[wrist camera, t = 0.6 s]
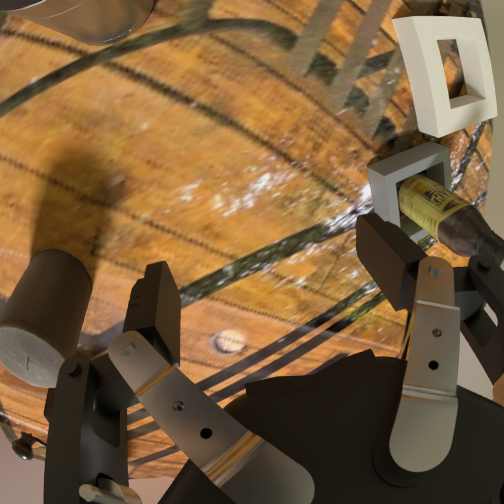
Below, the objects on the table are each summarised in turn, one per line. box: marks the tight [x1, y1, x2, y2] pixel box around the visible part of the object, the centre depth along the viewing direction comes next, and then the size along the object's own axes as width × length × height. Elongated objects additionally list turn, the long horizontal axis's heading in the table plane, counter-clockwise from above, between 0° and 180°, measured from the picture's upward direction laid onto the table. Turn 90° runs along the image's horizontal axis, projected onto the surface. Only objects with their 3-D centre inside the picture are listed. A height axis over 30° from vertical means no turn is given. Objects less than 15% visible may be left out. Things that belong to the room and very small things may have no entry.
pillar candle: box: [0, 250, 92, 388], centre depth 27 cm, size 10×10×15 cm
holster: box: [366, 141, 451, 242], centre depth 36 cm, size 12×12×4 cm
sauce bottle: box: [396, 174, 504, 271], centre depth 30 cm, size 7×6×20 cm
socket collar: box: [391, 16, 497, 138], centre depth 27 cm, size 16×16×4 cm
